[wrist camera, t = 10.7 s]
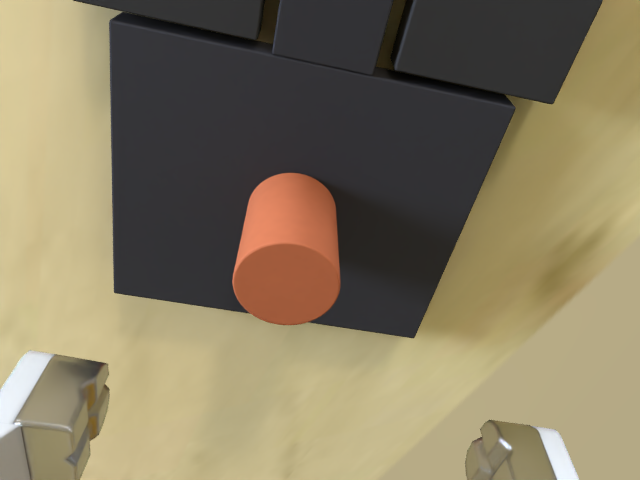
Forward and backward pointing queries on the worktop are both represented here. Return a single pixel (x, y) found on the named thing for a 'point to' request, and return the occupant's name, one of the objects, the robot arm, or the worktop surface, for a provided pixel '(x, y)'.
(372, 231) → the tab pad
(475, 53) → the notch pad
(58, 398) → the robot arm
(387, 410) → the worktop surface
